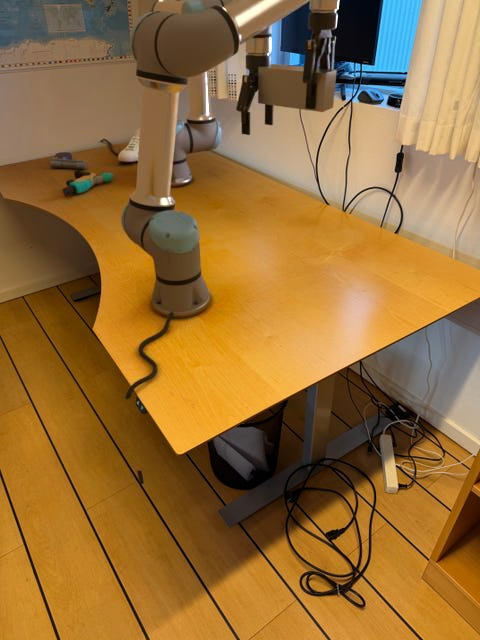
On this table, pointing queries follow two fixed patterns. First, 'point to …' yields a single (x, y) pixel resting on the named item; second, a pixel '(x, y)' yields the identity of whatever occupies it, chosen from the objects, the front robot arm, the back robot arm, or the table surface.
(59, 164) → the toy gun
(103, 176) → the toy gun
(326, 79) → the box
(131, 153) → the sneaker
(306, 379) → the table surface
